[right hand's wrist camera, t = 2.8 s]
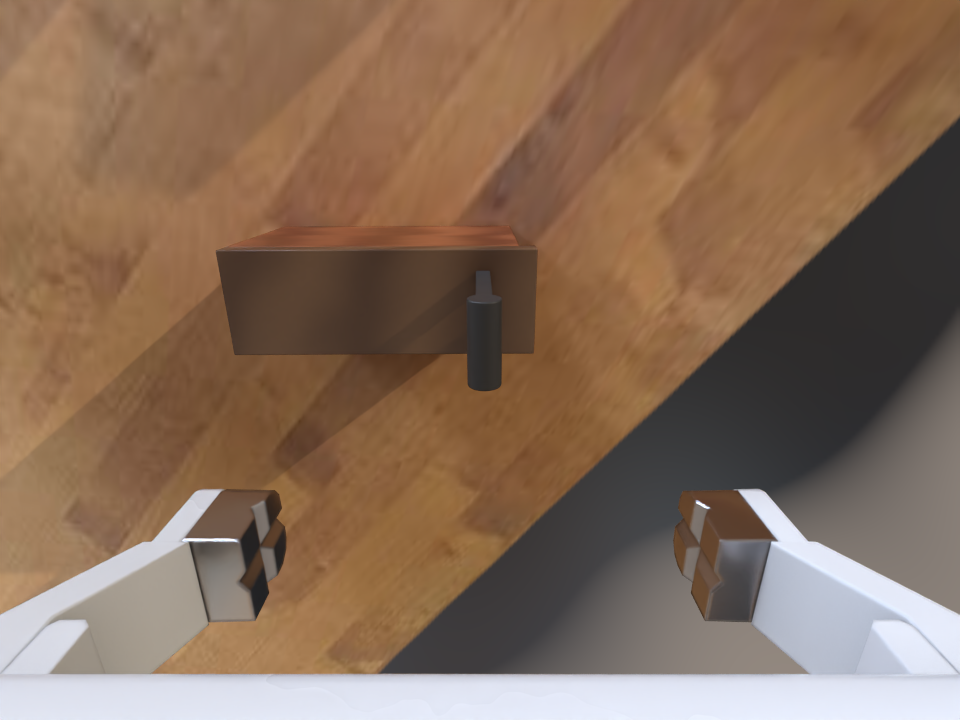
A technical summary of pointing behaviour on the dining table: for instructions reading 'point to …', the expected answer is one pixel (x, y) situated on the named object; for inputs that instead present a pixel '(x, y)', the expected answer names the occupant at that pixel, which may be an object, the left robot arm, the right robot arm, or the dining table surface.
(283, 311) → the lid
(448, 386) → the dining table surface
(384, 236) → the chest
